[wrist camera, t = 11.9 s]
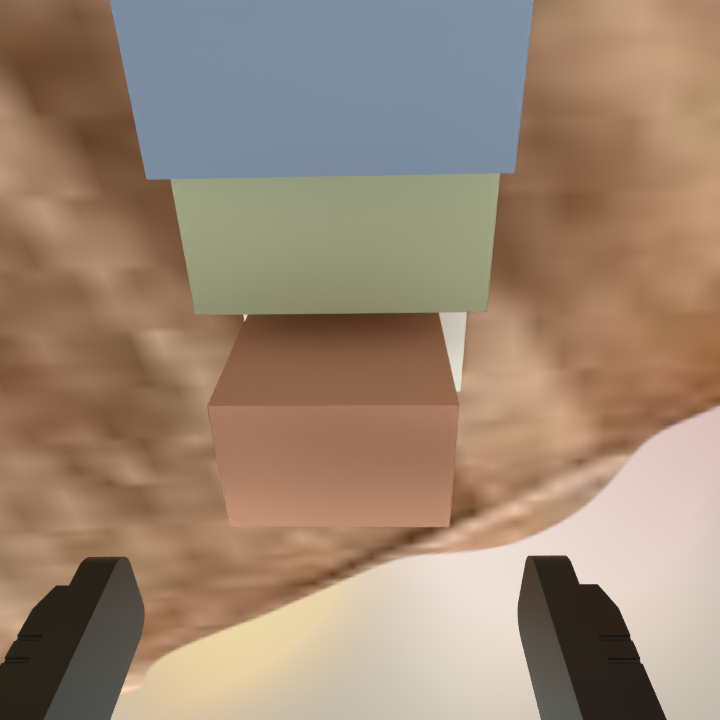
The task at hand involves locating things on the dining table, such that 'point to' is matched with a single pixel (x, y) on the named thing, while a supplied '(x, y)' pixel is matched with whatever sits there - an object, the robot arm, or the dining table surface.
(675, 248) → the dining table surface
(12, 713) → the robot arm
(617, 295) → the dining table surface
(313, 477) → the terracotta block
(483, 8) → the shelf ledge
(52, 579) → the dining table surface
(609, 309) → the dining table surface
